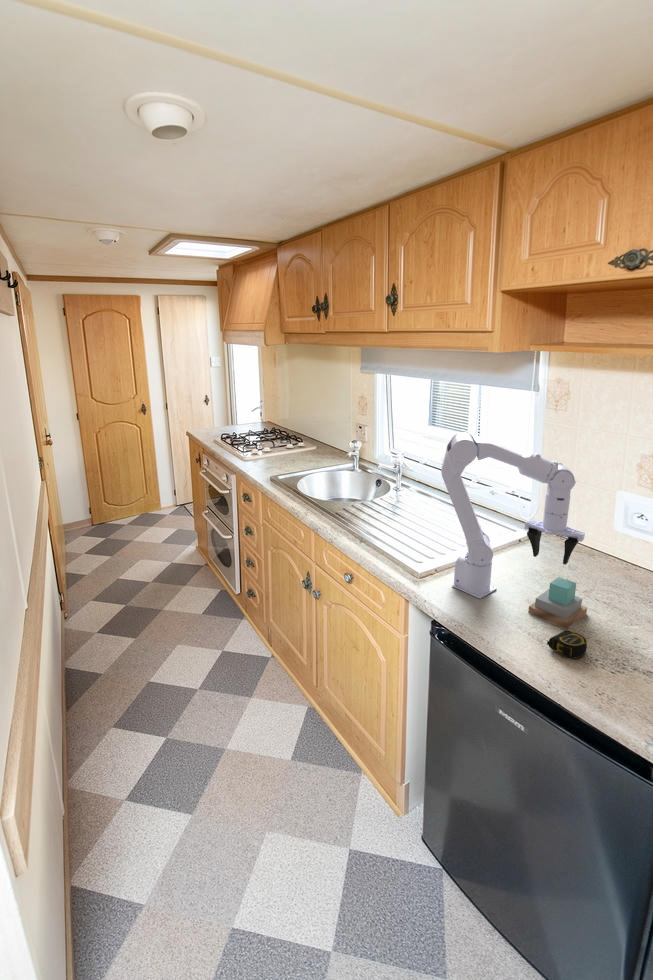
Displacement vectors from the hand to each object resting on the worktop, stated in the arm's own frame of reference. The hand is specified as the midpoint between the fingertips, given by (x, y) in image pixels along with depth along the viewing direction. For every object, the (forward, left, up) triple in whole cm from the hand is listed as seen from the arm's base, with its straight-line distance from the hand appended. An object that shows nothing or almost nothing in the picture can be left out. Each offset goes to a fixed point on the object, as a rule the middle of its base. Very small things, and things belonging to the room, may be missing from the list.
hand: (550, 559), depth 138 cm
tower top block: (+7, -7, -9) cm, 13 cm away
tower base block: (+7, -7, -11) cm, 15 cm away
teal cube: (+7, -7, -6) cm, 12 cm away
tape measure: (+16, -20, -11) cm, 28 cm away
